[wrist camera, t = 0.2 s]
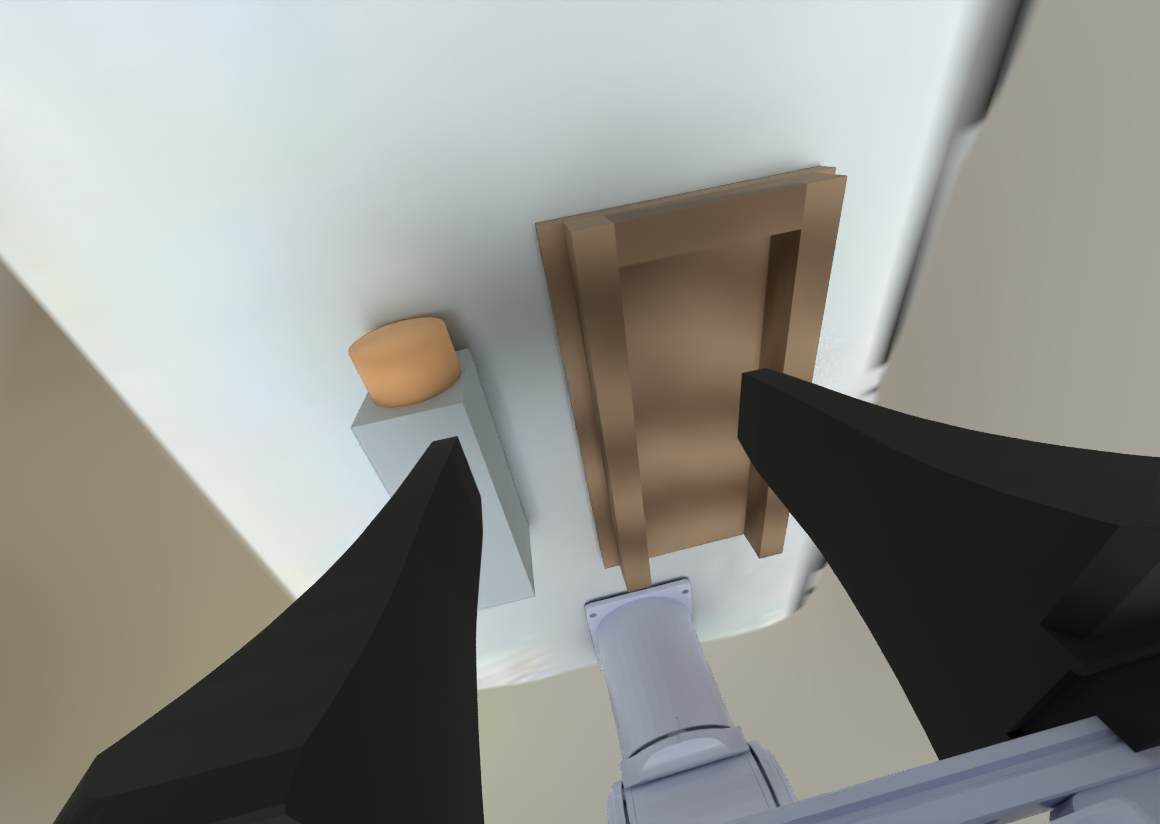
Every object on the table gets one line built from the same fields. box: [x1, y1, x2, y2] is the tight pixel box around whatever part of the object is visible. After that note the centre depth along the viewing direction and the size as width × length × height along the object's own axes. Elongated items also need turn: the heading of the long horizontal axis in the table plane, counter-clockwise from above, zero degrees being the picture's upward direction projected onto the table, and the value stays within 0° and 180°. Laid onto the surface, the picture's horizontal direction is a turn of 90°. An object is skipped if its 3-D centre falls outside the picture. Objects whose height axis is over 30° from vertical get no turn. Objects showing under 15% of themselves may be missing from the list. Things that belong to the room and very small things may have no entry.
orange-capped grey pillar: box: [348, 317, 535, 611], centre depth 20 cm, size 14×4×5 cm, turn 9°
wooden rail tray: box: [535, 166, 847, 592], centre depth 22 cm, size 21×12×3 cm, turn 9°
